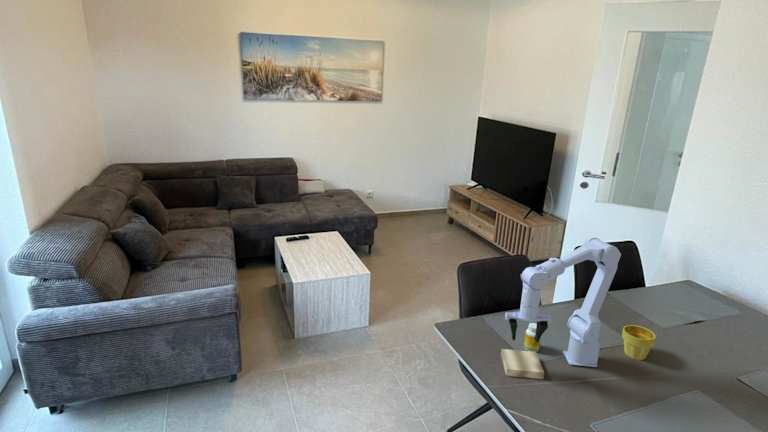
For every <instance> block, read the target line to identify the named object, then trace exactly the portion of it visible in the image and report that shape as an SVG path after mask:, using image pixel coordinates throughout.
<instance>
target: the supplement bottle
mask: <svg viewBox="0 0 768 432" xmlns="http://www.w3.org/2000/svg"><path fill="white" fill-rule="evenodd" d="M536 327H537V322H536V323H535V322H529V324H528V328H527V329H526V330H525V336H524V343H523V348H524V347H525V348H524V349H525V351H527V350H528V351H531V352H536V351H537V352H538V350H540V346H541V345H540V344H541V340H542V336H541V337H540V339H539V342H536V341H535V334H536ZM537 352H536V353H537Z"/></svg>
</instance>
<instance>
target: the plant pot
mask: <svg viewBox="0 0 768 432" xmlns="http://www.w3.org/2000/svg"><path fill="white" fill-rule="evenodd" d="M621 337H622V339H623V348H624V349H623V350H624V354H625V355H626V356H627V357H629V358H631V359H634V360H639V361H644V360H645V359H646V358H647V356H648V354H649V352H650V350H651V348H653V347H654V346H655V343H656V339H657V338H656V333H654V331H652V330H650V329H649V328H647V327H643V326H640V325H636V324H635V325H634V324H630V325H625V326H623V328H622V333H621Z"/></svg>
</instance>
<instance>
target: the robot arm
mask: <svg viewBox="0 0 768 432" xmlns="http://www.w3.org/2000/svg"><path fill="white" fill-rule="evenodd" d="M621 256H622V253H621V252H620V250H619V249H618V247H616V246H615V245H612V244H610V243H608V242H605V241H603V240H601V239H600V238H598V237H591V238H589V239H587V240H585V241H584V242H583V243H582V245H581V246H580V247H577V248H576V249H574V250H572V251H571V252H569V253H567V254H565V255H564V256H562V257H560V258H557V257H550V258H549V259H548V260H547V261H544V262H543V263H540V264H537V265H536V266H529V267H526V268H525V269H524V270H523V271H522V273H521V274H520V279H521V282H522V292H521V299H520V308H519V311H512V312H509V311H508V312H505V316H504V318H505V320H506V321H508V322H509V327H510V332H511V340H512V341H516V337H517V336H516V335H517V329H518V327H519V325H518V321H521V322H522V321H524V322H528V323H535V322H536V324H537V327H536V334H535V341H536V342H539V339H540V337H541V338H542V335H543V334H544V332H545V331H546V330H548V329H549V328H548V327H549V324H550V325H551V323H552V316H551V315H547V314H541V313H539V309H540V304H541V303H540V302H541V295H542V289H544V288H545V287H546V285H547V284H548V283H549V282H550V280H553V279H555V278H557V277H559V276H561V275H563V274H564V273H565V270H566V268H569V267H571V266H575V265H576V264H579V263H582V262H585V261H591V262H592V261H593V262H594V263H595V265H596V266H597V269H596V271H595V274H594V276H593V278H592V281H591V283H590V285H589V289H588V291H587V293H586V296H585V297H584V301H583V303H582V306H581V308H579V309H575V310H574V311H573V314H571V316H570V317H569V318H568V320H567V327H568V329H569V333H570V336H569V340H568V347H567V350H563V352H562V353H563V355H564V357H565V359H566V361H567V362H568V364H569V365H570V366H578V367H579V366H580V367H582V366H583V367H593V368H597V367H598V359H599V355H600V348H601V347H600V346H601V345H600V342H599V339H598V338H599V337H600V331H601V330H600V329H601V327H602V322H601V321H600V318H599V313H600V310H601V308H602V306H603V304H604V300H605V299H606V296H607V294H608V291H609V289H610V287H611V284H612V282H613V280H614V278H615V274H616V273H617V270H618V265H619V264H618V263H619V261H620V259H621Z"/></svg>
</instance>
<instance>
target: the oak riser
mask: <svg viewBox="0 0 768 432" xmlns="http://www.w3.org/2000/svg"><path fill="white" fill-rule="evenodd" d="M500 357H501V361H502V365H503V369H504V373H505V376H507V377H514V378H515V377H516V378H527V379H539V380H544V377H545V370H544V368H543V365H542V364H541V360H540V358H539V357H538V353H537V352H531V351H527V350H519V349H517V350H516V349H508V348H507V349H506V348H501V350H500Z"/></svg>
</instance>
